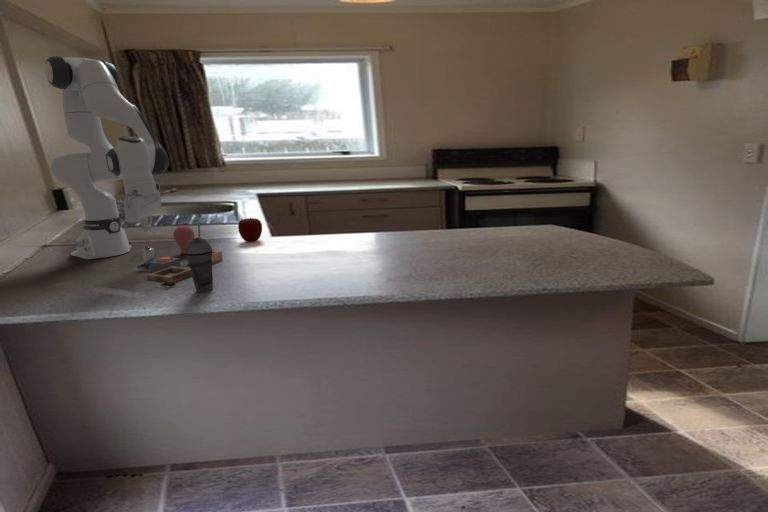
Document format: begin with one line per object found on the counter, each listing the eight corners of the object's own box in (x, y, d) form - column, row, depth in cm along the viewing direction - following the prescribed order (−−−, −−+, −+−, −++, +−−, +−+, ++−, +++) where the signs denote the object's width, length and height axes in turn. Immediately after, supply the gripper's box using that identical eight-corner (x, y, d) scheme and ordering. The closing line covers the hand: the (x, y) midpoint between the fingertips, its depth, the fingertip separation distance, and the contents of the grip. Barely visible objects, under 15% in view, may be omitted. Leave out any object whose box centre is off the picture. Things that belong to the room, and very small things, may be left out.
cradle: (131, 273, 152) (129, 261, 151) (156, 265, 161) (154, 253, 160) (162, 277, 147) (159, 265, 146) (186, 268, 156) (184, 256, 154)
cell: (142, 267, 154) (139, 248, 152) (151, 264, 157) (148, 245, 155) (150, 268, 153) (146, 249, 151) (159, 265, 156) (155, 246, 154)
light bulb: (190, 259, 167) (185, 227, 164) (173, 259, 168) (167, 227, 165) (201, 254, 174) (196, 223, 170) (184, 254, 175) (179, 223, 172)
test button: (157, 266, 151) (155, 259, 150) (166, 263, 154) (164, 256, 154) (165, 267, 150) (163, 260, 149) (173, 264, 153) (172, 257, 152)
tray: (148, 283, 141) (147, 274, 141) (173, 274, 150) (171, 266, 149) (170, 286, 138) (169, 277, 137) (194, 277, 146) (193, 268, 145)
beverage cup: (195, 286, 137) (185, 221, 131) (220, 285, 137) (211, 219, 132) (187, 295, 130) (176, 226, 124) (214, 293, 130) (203, 224, 125)
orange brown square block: (188, 267, 156) (186, 255, 155) (205, 261, 164) (204, 249, 162) (206, 270, 153) (204, 257, 152) (223, 263, 160) (221, 251, 159)
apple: (260, 243, 187) (257, 219, 184) (236, 244, 187) (233, 220, 184) (266, 238, 196) (263, 215, 193) (244, 239, 196) (241, 216, 193)
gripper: (136, 193, 138) (144, 237, 142) (161, 183, 157) (168, 222, 161) (114, 193, 137) (123, 238, 141) (142, 184, 157) (149, 223, 161)
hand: (147, 229), depth 152 cm, fingers closed
